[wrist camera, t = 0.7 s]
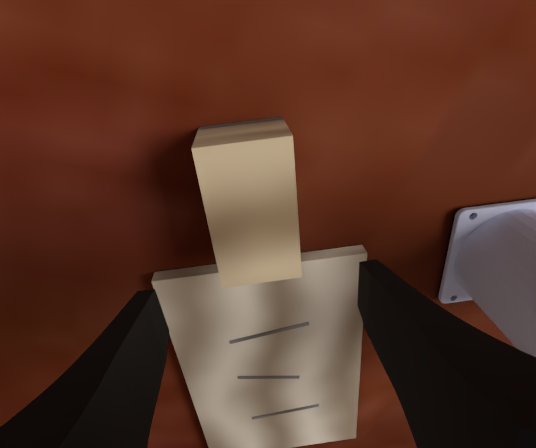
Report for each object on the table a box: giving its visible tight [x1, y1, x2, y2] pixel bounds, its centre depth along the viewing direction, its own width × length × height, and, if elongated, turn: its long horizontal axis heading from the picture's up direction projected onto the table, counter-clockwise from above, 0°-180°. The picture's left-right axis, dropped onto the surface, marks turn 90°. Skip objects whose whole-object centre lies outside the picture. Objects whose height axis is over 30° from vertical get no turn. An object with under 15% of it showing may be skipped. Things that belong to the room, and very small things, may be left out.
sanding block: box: [191, 117, 302, 288], centre depth 19 cm, size 8×4×4 cm, turn 6°
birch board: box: [151, 245, 367, 448], centre depth 28 cm, size 14×22×1 cm, turn 6°
